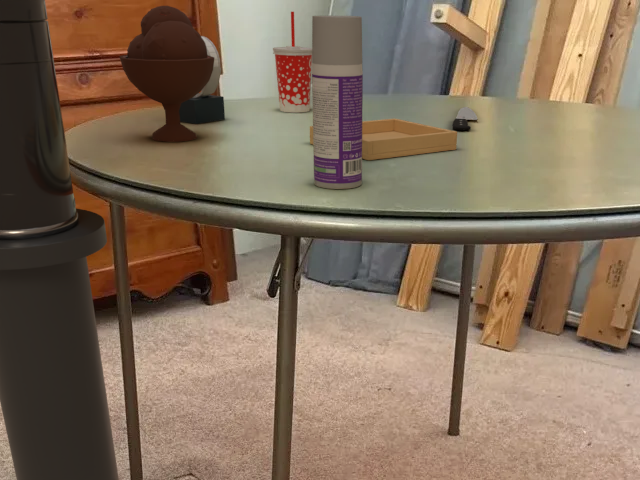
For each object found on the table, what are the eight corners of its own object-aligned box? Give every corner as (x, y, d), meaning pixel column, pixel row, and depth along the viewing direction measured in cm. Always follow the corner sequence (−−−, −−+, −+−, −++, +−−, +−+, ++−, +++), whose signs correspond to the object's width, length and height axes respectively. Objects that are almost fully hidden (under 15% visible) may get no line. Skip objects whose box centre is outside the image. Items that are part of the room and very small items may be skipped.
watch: (194, 115, 117) (187, 34, 112) (233, 120, 113) (228, 36, 108) (164, 119, 113) (156, 35, 108) (204, 125, 108) (198, 38, 104)
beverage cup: (306, 114, 120) (304, 12, 114) (268, 111, 121) (264, 11, 115) (320, 109, 125) (319, 11, 119) (284, 106, 127) (281, 10, 121)
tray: (368, 160, 89) (368, 141, 88) (309, 143, 97) (309, 126, 96) (456, 149, 96) (457, 131, 95) (394, 134, 104) (395, 118, 104)
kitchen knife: (472, 131, 108) (472, 127, 108) (449, 130, 108) (450, 127, 108) (479, 107, 128) (479, 104, 128) (461, 107, 129) (461, 103, 128)
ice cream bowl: (113, 136, 99) (96, 4, 93) (191, 128, 106) (182, 4, 100) (154, 148, 92) (140, 7, 86) (235, 139, 99) (228, 7, 92)
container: (356, 177, 80) (357, 15, 74) (366, 188, 76) (367, 17, 70) (310, 179, 79) (307, 15, 73) (317, 189, 75) (314, 16, 69)
